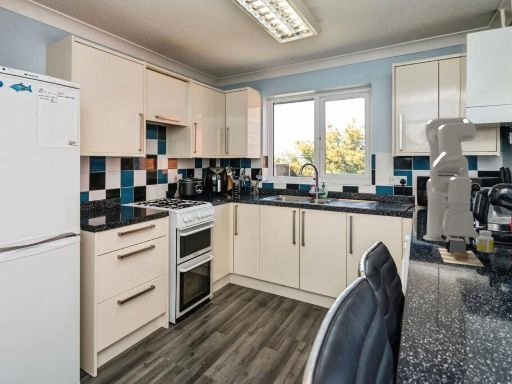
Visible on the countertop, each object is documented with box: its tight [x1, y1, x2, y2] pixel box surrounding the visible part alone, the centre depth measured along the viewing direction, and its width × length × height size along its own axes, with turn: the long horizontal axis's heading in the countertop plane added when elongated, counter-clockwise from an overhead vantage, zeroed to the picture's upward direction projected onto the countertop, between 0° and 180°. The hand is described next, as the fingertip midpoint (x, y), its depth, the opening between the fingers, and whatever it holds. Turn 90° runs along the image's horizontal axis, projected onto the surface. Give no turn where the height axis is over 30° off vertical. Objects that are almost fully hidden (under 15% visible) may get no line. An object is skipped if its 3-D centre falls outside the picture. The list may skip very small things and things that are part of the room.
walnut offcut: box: [453, 252, 468, 261], centre depth 114 cm, size 4×4×2 cm
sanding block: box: [449, 237, 466, 254], centre depth 123 cm, size 8×5×5 cm, turn 154°
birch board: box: [437, 247, 485, 267], centre depth 118 cm, size 22×12×2 cm, turn 154°
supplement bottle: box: [476, 229, 494, 254], centre depth 126 cm, size 5×5×10 cm
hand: (456, 251), depth 123 cm, fingers closed on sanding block, 5 cm apart
